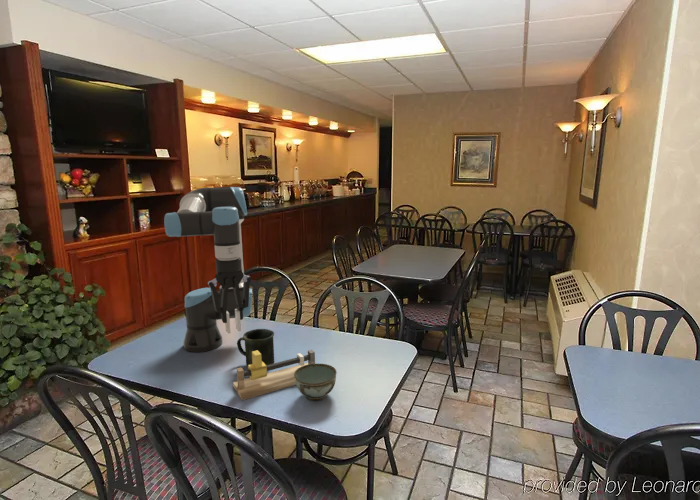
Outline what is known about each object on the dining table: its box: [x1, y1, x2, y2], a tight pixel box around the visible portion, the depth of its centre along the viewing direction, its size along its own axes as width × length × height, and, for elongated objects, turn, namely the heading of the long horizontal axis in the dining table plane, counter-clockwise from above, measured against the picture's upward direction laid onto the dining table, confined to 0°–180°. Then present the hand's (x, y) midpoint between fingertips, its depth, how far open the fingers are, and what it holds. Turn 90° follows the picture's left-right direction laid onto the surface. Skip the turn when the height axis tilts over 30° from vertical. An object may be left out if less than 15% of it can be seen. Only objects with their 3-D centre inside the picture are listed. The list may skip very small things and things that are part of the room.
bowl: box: [294, 363, 338, 402], centre depth 134 cm, size 14×13×8 cm
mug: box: [236, 328, 275, 368], centre depth 156 cm, size 11×15×12 cm
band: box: [296, 352, 305, 366], centre depth 147 cm, size 3×1×3 cm, turn 31°
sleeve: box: [247, 350, 268, 380], centre depth 139 cm, size 4×5×8 cm
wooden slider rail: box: [232, 349, 316, 401], centre depth 143 cm, size 10×28×8 cm, turn 121°
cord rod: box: [244, 354, 310, 378], centre depth 143 cm, size 1×24×1 cm, turn 121°
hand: (233, 330), depth 133 cm, fingers open, 3 cm apart
